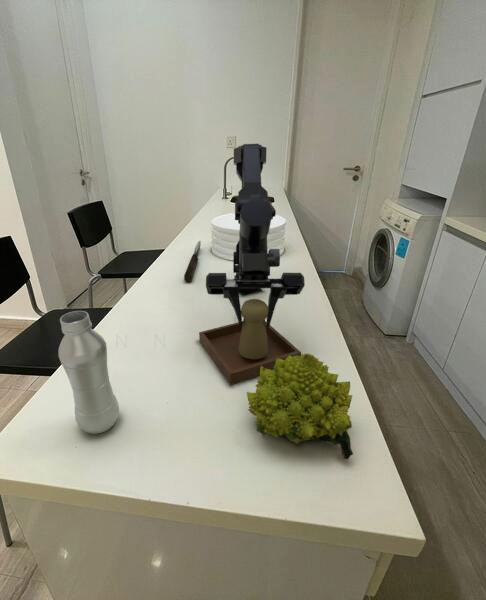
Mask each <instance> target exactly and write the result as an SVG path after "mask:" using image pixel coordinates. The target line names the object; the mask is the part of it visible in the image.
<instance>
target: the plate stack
mask: <svg viewBox="0 0 486 600" xmlns="http://www.w3.org/2000/svg"><path fill="white" fill-rule="evenodd" d="M210 223H211V224H210V225H211V227H210V228H211V229H210V230H211V251H212V253H213V254H214V255H215V256H216V257H219V258H220V259H224V260H228V261H233V252H236V245H237V243H238V241H239V231H240V224H239V223H238V220H235V212H230V213H225V214H222V215H218V216H215V217H213V218H212V219H211V221H210ZM286 225H287V219H286V218H284V217H283V216H281V215H279V214H275V217H273V219H272V220H271V223H270V228H269V233H268V235H267V252H268V251H269V250H270V249H279V250H280V256H282V254H284V252H285V239H286Z"/></svg>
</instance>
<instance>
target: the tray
mask: <svg viewBox="0 0 486 600" xmlns="http://www.w3.org/2000/svg"><path fill="white" fill-rule="evenodd" d="M265 324H266V334H267V344H268V354H267V355H266V356H265V357H263V358H260V359H249V358H246V357H243V356H242V355H241V354H240V353H239V343H240V337H241V331H242V327H240V326H239V323H238V321H237V322H233V323H230V324H226V325H221V326H218V327H214V328H210V329H206V330H203V331H199V332H198V338H199V343H200V345H201V346H202V347H203V349H204V350H205V352H206V353H207V355H208V356H209V358H210V359H211V360H212V362H213V363H214V364H215V366H216V367H217V369H218V370H219V372H220V373H221V374H222V375H223V377H224V378H225V380H226V381H227V382H228V384H229V386H232V385H235V384H238V383H241V382H244V381H248V380H251V379H254V378H258V377H260V368H261V366H262V367H264V368H265V369H269V370H274V366H275V362H276V358H278V359H282V360H284V361H285V358H287V357H288V356H289V355H290V356H292V357H293V355H294V356H296V355H297V356H301V355H302V351H301V350H299V349H298V347H296V346H295V345H294V344H292V343H291V342H290V341H289V340H288V339H287V338H286V337H284V336H283V334H281V333H280V332H279V331H278V330H276V328H274V326H272V325H271V324H270V326H269V327H267V320H265ZM242 325H243V320H242Z"/></svg>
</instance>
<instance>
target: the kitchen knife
mask: <svg viewBox="0 0 486 600" xmlns="http://www.w3.org/2000/svg"><path fill="white" fill-rule="evenodd" d="M200 250H201V240H199V241H198V242H197V243H196V245H195V247H194V251H193V252H194V253H193V254H192V256H191V258H190V261H189V263H188V265H187V267H186V269H185V272H184V274H183V275H184V276H183V277H184V278H183V279H184V281H185V283H191V282H192V279H193V276H194V273H195V270H196V267H197V264H198V261H199V257H198V256H199V253H200Z"/></svg>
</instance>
